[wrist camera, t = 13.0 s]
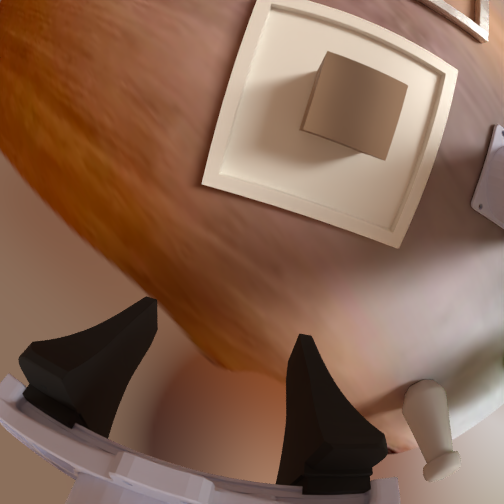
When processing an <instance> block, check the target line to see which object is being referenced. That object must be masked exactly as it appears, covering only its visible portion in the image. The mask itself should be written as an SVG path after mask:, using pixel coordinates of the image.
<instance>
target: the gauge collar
mask: <svg viewBox="0 0 504 504" xmlns="http://www.w3.org/2000/svg"><path fill="white" fill-rule="evenodd" d="M417 1H419V2H421V3H422V4H424V5H426V6H428V7H429V8H431V9H433V10H434V11H436V12H438V13H439V14H441V15H443V16H444V17H446V18H447V19H449V20H450V21H452V22H453V23H455V24H456V25H458V26H459V27H461V28H462V29H463V30H465V31H466V32H468V33H469V34H470V35H472V36H473V37H474V38H476V39H477V40H478V41H479V42H481V43H485V42H488V33H489V0H475V22H473V21H472V20H471V19H469V18H468V17H467V16H465V15H464V14H462V13H461V12H459V11H458V10H457V9H455V8H454V7H452V6H451V5H449V4H447V3H446V2H444V1H443V0H417Z"/></svg>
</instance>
